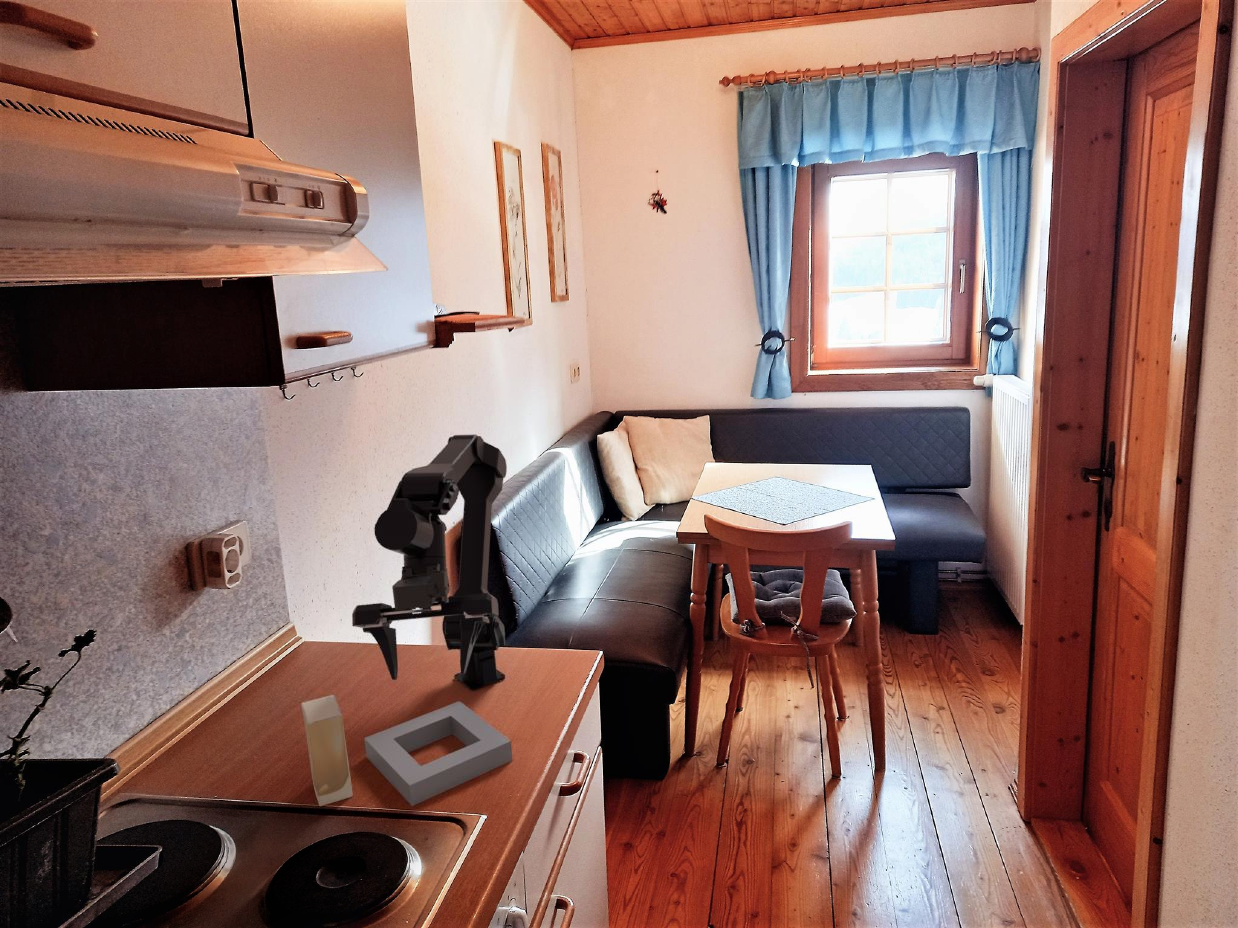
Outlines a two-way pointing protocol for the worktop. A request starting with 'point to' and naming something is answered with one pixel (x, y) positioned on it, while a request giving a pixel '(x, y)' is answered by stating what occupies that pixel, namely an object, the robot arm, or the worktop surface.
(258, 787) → the worktop surface
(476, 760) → the plate
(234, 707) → the worktop surface
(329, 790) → the skincare box
